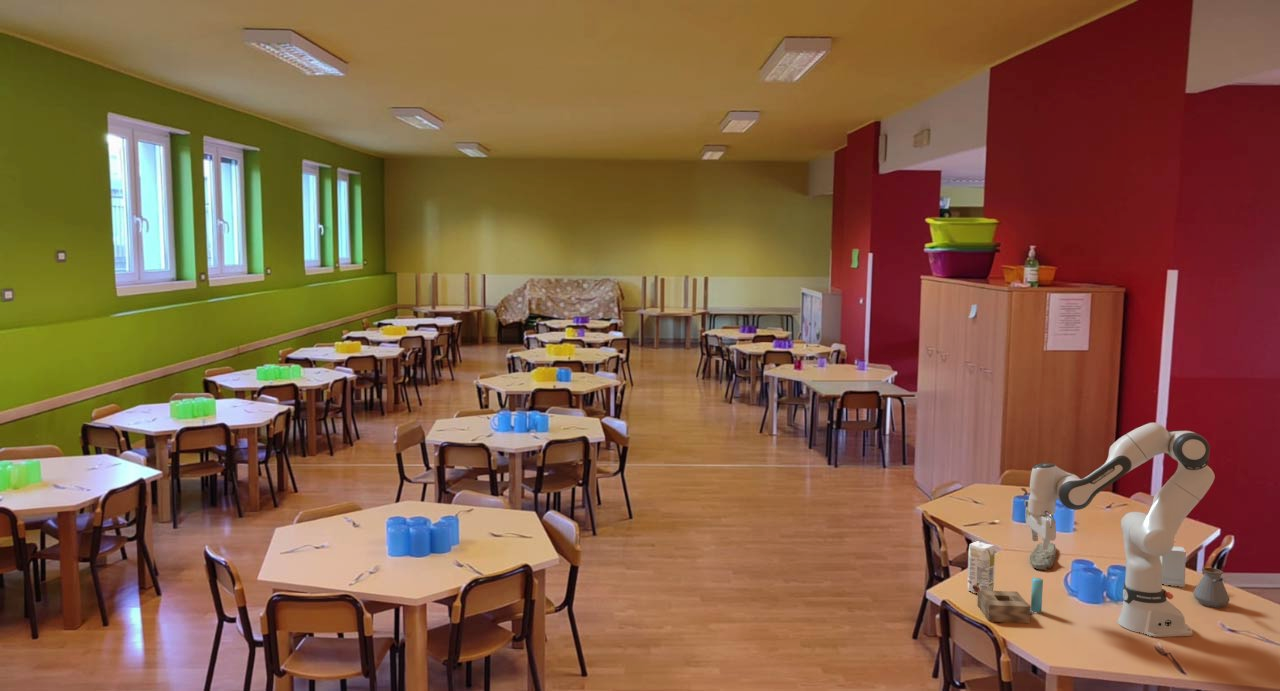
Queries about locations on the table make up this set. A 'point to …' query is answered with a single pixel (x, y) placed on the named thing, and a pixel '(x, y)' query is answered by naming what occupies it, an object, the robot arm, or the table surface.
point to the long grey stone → (1043, 557)
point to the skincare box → (1174, 567)
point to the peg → (1036, 595)
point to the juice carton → (981, 567)
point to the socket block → (1003, 606)
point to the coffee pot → (1211, 589)
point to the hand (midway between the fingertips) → (1039, 544)
